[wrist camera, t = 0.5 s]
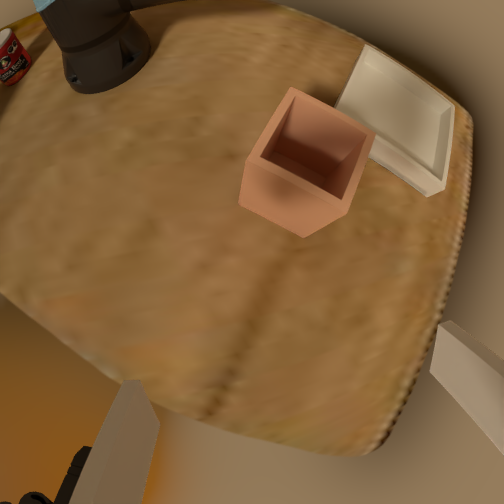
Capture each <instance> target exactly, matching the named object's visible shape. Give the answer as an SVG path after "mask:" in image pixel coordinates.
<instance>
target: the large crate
mask: <svg viewBox="0 0 504 504" xmlns="http://www.w3.org/2000/svg"><path fill="white" fill-rule="evenodd" d="M334 109H336V110H338V111H340V112H342V113H343V114H345V115H347V116H349V117H350V118H352V119H354V120H355V121H357V122H359V123H360V124H362V125H364V126H365V127H367V128H369V129H370V130H372V131H373V132H375V133H376V136H375V139H374V142H373V144H372V147H371V150H370V153H369V156H368V157H369V158H371V159H372V160H374V161H375V162H377V163H379V164H380V165H382V166H383V167H385V168H386V169H388V170H389V171H391V172H392V173H394V174H395V175H397V176H398V177H400V178H401V179H402V180H404V181H405V182H407V183H408V184H409V185H411V186H412V187H414V188H415V189H416V190H418V191H419V192H420V193H422V194H423V195H424V196H426V197H429V196H431V195H433V194H436V193H438V192H440V191H442V190H444V189H445V186H446V180H447V174H448V168H449V161H450V154H451V145H452V136H453V125H454V111H455V106H454V105H453V104H452V103H451V102H449V101H448V100H447V99H446V98H445V97H443V96H442V95H441V94H440V93H438V92H437V91H436V90H435V89H433V88H432V87H431V86H429V85H428V84H427V83H425V82H424V81H423V80H421V79H420V78H419V77H417V76H416V75H414V74H413V73H411V72H410V71H409V70H407V69H406V68H404V67H403V66H401V65H400V64H398V63H397V62H395V61H393V60H392V59H390V58H389V57H387V56H385V55H384V54H382V53H380V52H379V51H377V50H375V49H374V48H372V47H370V46H368V45H367V44H365V46H364V48H363V49H362V51H361V52H360V54H359V56H358V57H357V59H356V61H355V63H354V65H353V67H352V70H351V72H350V74H349V76H348V78H347V80H346V82H345V84H344V87H343V89H342V91H341V93H340V95H339V97H338V99H337V101H336V103H335V106H334Z"/></svg>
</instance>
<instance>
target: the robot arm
mask: <svg viewBox="0 0 504 504" xmlns="http://www.w3.org/2000/svg"><path fill="white" fill-rule="evenodd" d="M33 1H34V4H35V6H36V11H37V12H39V14H40V15H41V17H42V19H43V21H44V22H45V24H46V26H47V28H48V29H49V31H50V33H51V34H52V36H53V38H54V39H55V41H56V43H57V44H58V46H59V47H60V49H61V51H62V59H63V67H64V74H65V78H66V80H67V81H68V83H69V84H70V86H71V87H72V88H73V89H74V90H75V91H77V92H79V93H83V94H94V93H99V92H103V91H106V90H109V89H112V88H114V87H116V86H118V85H120V84H122V83H123V82H125V81H126V80H128V79H129V78H131V77H132V76H133V75H135V74H136V73H137V72H138V71H139V70H140V69H141V68H142V66H143V65H144V64H145V63H146V61H147V59H148V57H149V55H150V50H151V46H150V42H149V38H148V35H147V33H146V32H145V31H144V29H143V28H142V27H141V26H140V25H139V24H138V23H137V21H136V20H135V19H134V18H133V17H132V16H131V14H130V11H134V10H138V9H143V8H147V7H152V6H156V5H161V4H167V3H172V2H178V1H185V0H33ZM430 373H431V374H432V375H433V376H434V377H435V378H436V379H437V380H438V381H439V382H440V383H441V384H442V386H443V387H444V388H446V390H447V391H448V392H449V393H450V394H451V395H452V396H453V398H454V399H455V400H456V401H457V402H458V403H459V404H460V405H461V406H462V408H463V409H465V411H466V412H467V413H468V414H469V415H470V417H471V418H472V419H473V420H474V421H475V422H476V423H477V425H478V426H479V427H480V428H481V429H482V430H483V432H484V433H485V434H486V435H487V436H488V437H489V438H490V440H491V441H492V442H493V443H494V444H495V446H496V447H497V448H498V449H499V451H500V452H501V453H502V454H503V455H504V360H503V359H501V358H500V357H499V356H497V355H496V354H495V353H494V352H492V351H491V350H490V349H488V348H487V347H486V346H484V345H483V344H482V343H481V342H479V341H478V340H477V339H475V338H474V337H473V336H471V335H470V334H469V333H467V332H466V331H464V330H463V329H462V328H460V327H459V326H458V325H456V324H455V323H453V322H452V321H451V320H449V321H446V322H444V323H441V324H438V330H437V337H436V342H435V348H434V353H433V358H432V363H431V368H430ZM159 427H160V423H159V421H158V419H157V417H156V414H155V412H154V410H153V408H152V406H151V404H150V402H149V400H148V397H147V395H146V393H145V391H144V388H143V386H142V384H141V381H140V380H124V381H123V383H122V385H121V387H120V389H119V391H118V393H117V395H116V398H115V400H114V402H113V404H112V406H111V408H110V410H109V412H108V414H107V416H106V419H105V421H104V423H103V425H102V427H101V429H100V432H99V433H98V436H97V438H96V440H95V442H94V445H93V447H88V446H83V447H82V448H81V449H80V450H79V451H78V452H77V453H76V454H75V456H74V458H73V461H72V463H71V467H69V469H68V472H67V475H66V476H65V478H64V480H63V483H62V485H61V487H60V489H59V491H58V494H57V496H56V498H55V501H54V503H53V502H51V501H50V500H49V499H48V498H47V497H46V496H45V495H43V494H42V493H39V492H29V493H27V494H25V495H24V496H23V497H22V498H21V499H20V502H19V504H141V502H142V497H143V493H144V489H145V485H146V480H147V476H148V472H149V467H150V463H151V459H152V455H153V451H154V447H155V443H156V439H157V435H158V431H159ZM0 504H11V503H10V502H0Z"/></svg>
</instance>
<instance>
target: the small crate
mask: <svg viewBox="0 0 504 504" xmlns="http://www.w3.org/2000/svg"><path fill="white" fill-rule="evenodd" d="M375 136H376V133H375V132H373V131H372V130H370V129H369V128H367V127H365V126H364V125H362V124H360V123H359V122H357V121H355V120H354V119H352V118H350V117H349V116H347V115H345V114H343V113H342V112H340V111H338V110H336V109H334V108H332V107H331V106H329V105H327V104H325V103H323V102H321V101H319V100H317V99H315V98H313V97H311V96H309V95H307V94H305V93H303V92H301V91H299V90H297V89H295V88H293V87H290V89H289V90H288V92H287V93H286V95H285V96H284V98H283V100H282V101H281V103H280V104H279V106H278V108H277V109H276V111H275V113H274V114H273V116H272V118H271V119H270V121H269V122H268V124H267V126H266V127H265V129H264V131H263V132H262V134H261V136H260V137H259V139H258V141H257V143H256V144H255V146H254V148H253V149H252V151H251V153H250V154H249V156H248V158H247V160H246V164H245V169H244V174H243V179H242V185H241V190H240V195H239V201H238V205H240V206H242V207H244V208H246V209H248V210H250V211H252V212H254V213H256V214H258V215H260V216H262V217H264V218H266V219H268V220H270V221H272V222H274V223H276V224H278V225H280V226H281V227H283V228H285V229H287V230H289V231H291V232H293V233H295V234H297V235H299V236H300V237H302V238H305V237H307V236H309V235H310V234H312V233H314V232H316V231H317V230H319V229H321V228H323V227H324V226H326V225H328V224H329V223H331V222H333V221H335V220H336V219H338V218H340V217H342V216H343V215H345V214H347V211H348V209H349V206H350V204H351V201H352V199H353V196H354V194H355V191H356V188H357V186H358V183H359V181H360V178H361V175H362V172H363V170H364V167H365V164H366V161H367V159H368V156H369V153H370V150H371V147H372V144H373V142H374V139H375Z"/></svg>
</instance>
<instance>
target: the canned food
mask: <svg viewBox="0 0 504 504" xmlns="http://www.w3.org/2000/svg"><path fill="white" fill-rule="evenodd" d="M30 65H31V57H30V56H29V54H28V53H27V52H26V50H25V49H24V47H23V46H22V44H21V43H20V42H19V40H18V39H17V37H16V36H15V34H14V33H13V32H12V30H11V29H10V28H7V29H4V30H3V31H1V32H0V80H1V81H2V82H3V84H5V85H7V86H10V85H13V84H15V83H16V82H18V81H19V80H20V79H21V78H22V77H23V76H24V75H25V74H26V72H27V71H28V69H29V68H30Z"/></svg>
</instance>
